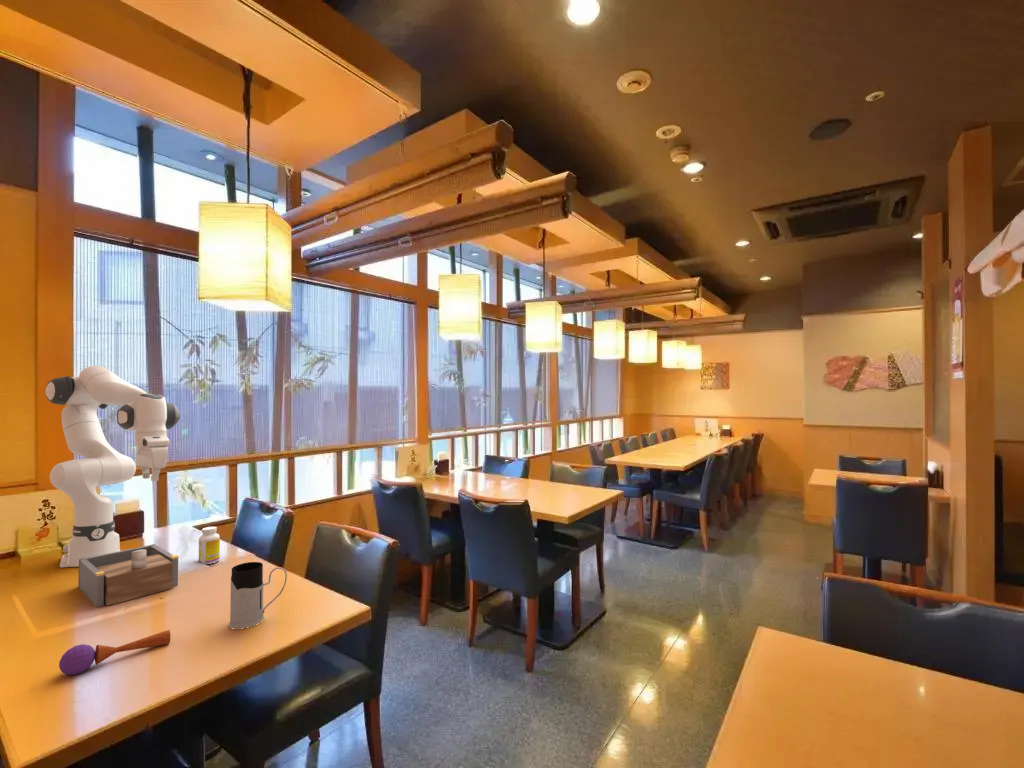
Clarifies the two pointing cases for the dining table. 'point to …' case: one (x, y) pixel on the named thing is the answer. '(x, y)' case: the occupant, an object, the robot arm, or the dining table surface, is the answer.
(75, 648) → the purple maraca
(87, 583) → the bay
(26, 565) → the dining table surface
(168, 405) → the robot arm
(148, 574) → the wooden block with knob
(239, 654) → the dining table surface
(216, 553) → the supplement bottle
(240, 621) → the glass holder
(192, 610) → the dining table surface
